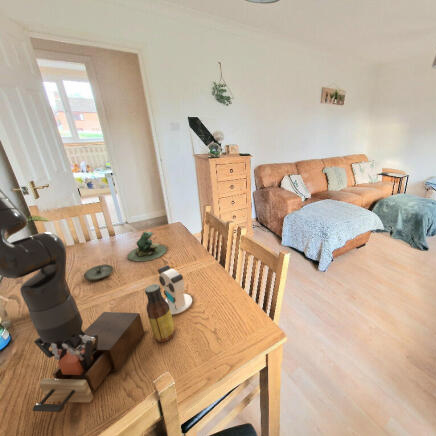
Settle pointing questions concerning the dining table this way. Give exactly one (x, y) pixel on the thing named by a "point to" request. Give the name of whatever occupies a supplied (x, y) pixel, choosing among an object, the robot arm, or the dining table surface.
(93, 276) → the lid
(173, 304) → the panda figurine
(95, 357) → the drawer
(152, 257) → the frog figurine
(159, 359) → the dining table surface
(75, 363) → the block
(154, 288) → the sauce bottle
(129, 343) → the cabinet
